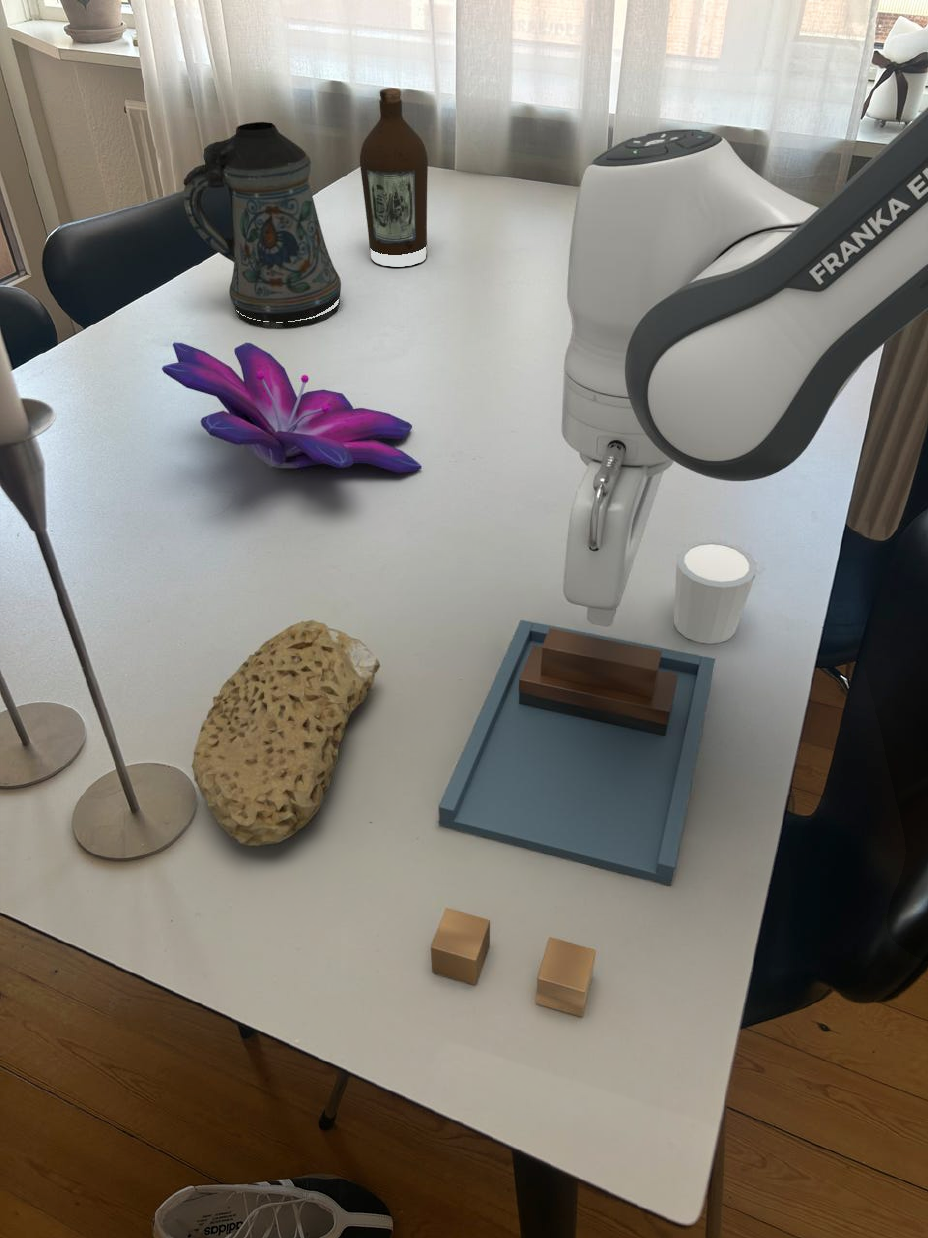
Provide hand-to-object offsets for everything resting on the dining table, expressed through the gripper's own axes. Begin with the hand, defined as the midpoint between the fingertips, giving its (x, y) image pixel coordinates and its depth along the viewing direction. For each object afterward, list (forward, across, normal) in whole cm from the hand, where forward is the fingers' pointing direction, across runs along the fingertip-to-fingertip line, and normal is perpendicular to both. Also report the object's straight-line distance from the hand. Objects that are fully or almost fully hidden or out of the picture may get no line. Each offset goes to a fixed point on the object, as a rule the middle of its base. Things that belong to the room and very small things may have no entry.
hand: (615, 579), depth 71 cm
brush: (+13, 0, +1) cm, 13 cm away
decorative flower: (+13, +30, +42) cm, 53 cm away
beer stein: (+13, +68, +64) cm, 94 cm away
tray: (+14, -4, 0) cm, 14 cm away
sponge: (+14, -12, +22) cm, 29 cm away
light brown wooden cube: (+12, -25, -3) cm, 28 cm away
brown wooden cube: (+12, -25, +4) cm, 28 cm away
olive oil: (+13, +93, +55) cm, 109 cm away
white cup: (+14, +14, -6) cm, 21 cm away
